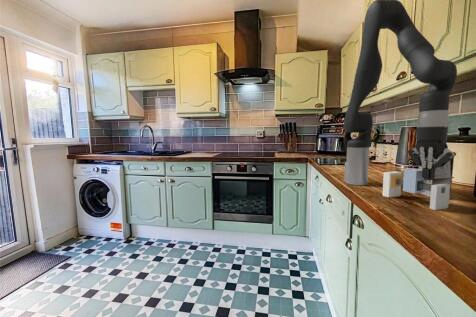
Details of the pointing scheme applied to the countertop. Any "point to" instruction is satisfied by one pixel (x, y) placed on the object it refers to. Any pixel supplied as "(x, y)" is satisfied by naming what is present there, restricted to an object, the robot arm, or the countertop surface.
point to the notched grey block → (412, 180)
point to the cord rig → (438, 191)
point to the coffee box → (441, 176)
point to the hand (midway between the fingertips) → (428, 179)
